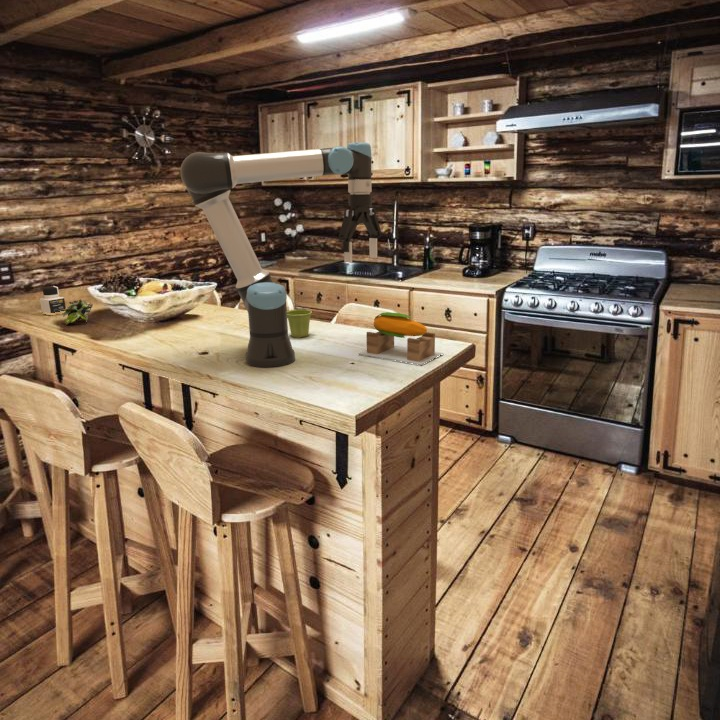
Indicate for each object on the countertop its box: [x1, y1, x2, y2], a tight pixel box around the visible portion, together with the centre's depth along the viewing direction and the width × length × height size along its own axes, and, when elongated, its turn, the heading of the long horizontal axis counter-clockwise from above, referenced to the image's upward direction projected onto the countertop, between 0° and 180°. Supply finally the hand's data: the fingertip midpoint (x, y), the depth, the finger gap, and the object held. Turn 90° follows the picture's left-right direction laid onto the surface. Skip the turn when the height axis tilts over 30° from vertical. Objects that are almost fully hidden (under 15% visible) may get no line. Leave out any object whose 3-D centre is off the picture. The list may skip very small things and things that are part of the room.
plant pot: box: [287, 309, 313, 338], centre depth 217 cm, size 9×9×9 cm
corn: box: [373, 311, 428, 339], centre depth 189 cm, size 7×8×20 cm
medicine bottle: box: [39, 285, 67, 313], centre depth 262 cm, size 7×7×12 cm
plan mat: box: [357, 344, 444, 366], centre depth 192 cm, size 14×23×1 cm, turn 55°
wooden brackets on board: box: [366, 331, 436, 361], centre depth 191 cm, size 10×19×7 cm, turn 55°
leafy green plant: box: [61, 299, 94, 325], centre depth 244 cm, size 11×11×12 cm
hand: (361, 260), depth 201 cm, fingers open, 13 cm apart
